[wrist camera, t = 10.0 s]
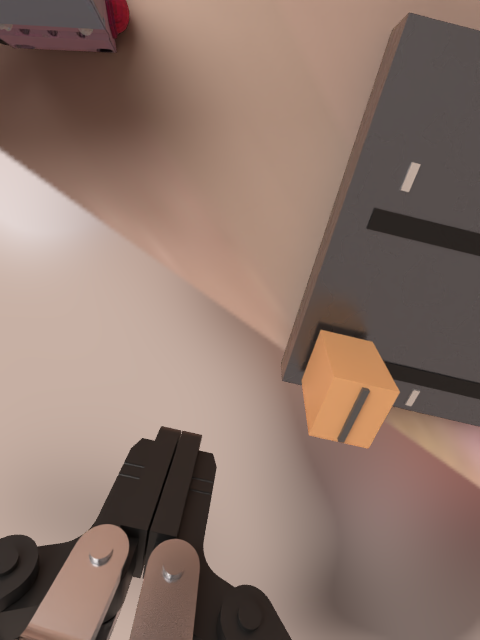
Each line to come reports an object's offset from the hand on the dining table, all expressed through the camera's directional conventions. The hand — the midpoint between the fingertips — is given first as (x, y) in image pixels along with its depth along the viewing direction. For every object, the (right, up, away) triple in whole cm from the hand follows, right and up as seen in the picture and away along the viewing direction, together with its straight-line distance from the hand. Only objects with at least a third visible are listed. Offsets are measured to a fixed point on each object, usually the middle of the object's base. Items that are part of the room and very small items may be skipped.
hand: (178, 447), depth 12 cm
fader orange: (+8, +2, +7) cm, 11 cm away
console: (+15, +8, +7) cm, 18 cm away
